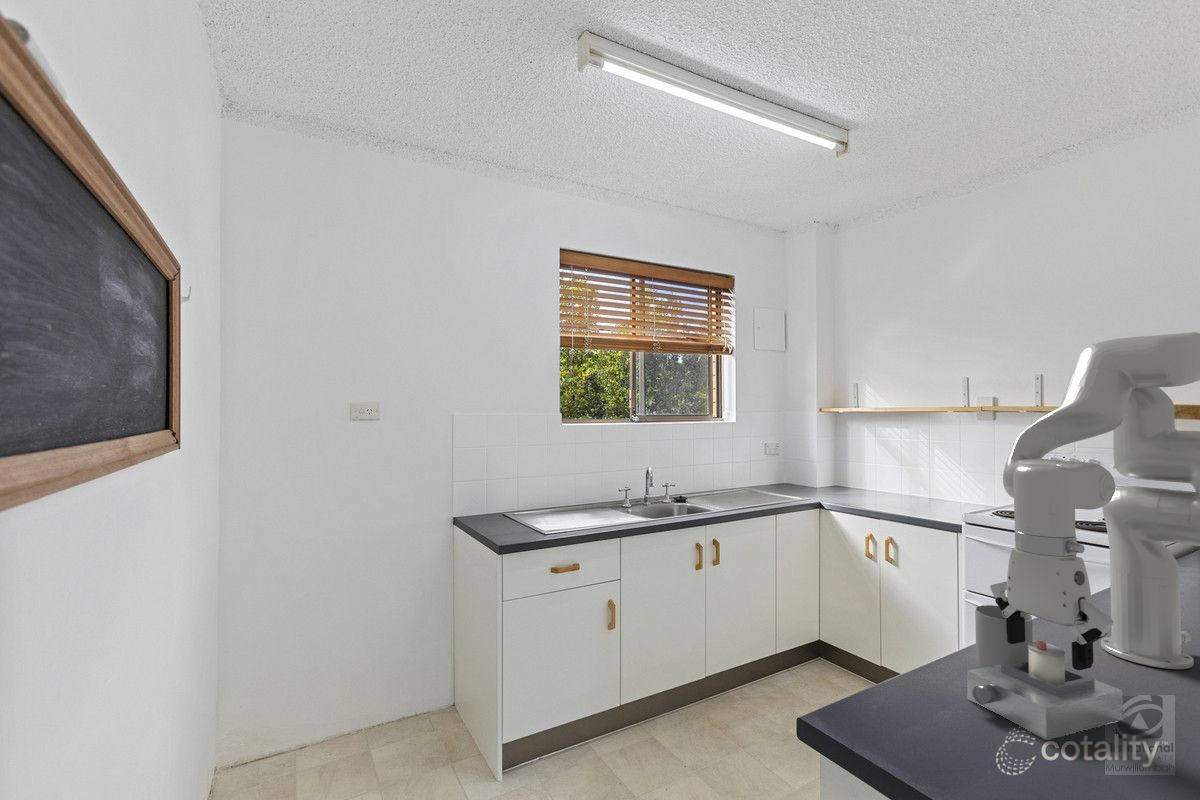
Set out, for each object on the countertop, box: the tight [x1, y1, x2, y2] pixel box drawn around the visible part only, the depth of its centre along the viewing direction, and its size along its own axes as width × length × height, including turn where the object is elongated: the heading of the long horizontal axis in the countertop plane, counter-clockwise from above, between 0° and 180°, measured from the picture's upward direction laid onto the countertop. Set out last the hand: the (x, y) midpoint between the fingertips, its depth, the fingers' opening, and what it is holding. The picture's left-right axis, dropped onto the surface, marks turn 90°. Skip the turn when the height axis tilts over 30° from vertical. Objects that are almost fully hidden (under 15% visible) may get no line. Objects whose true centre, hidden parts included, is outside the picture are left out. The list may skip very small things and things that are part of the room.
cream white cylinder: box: [1028, 640, 1066, 684], centre depth 88 cm, size 4×4×9 cm
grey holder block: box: [966, 659, 1124, 741], centre depth 88 cm, size 18×12×6 cm, turn 108°
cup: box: [974, 604, 1034, 669], centre depth 102 cm, size 8×8×10 cm
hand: (1047, 654), depth 89 cm, fingers open, 9 cm apart
